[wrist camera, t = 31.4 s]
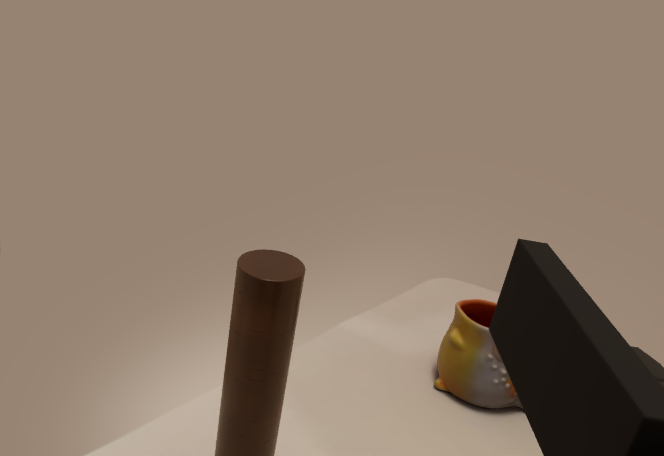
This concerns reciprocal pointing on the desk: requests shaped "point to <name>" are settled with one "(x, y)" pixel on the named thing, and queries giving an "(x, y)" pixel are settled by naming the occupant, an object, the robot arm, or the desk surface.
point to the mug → (474, 359)
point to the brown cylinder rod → (258, 352)
